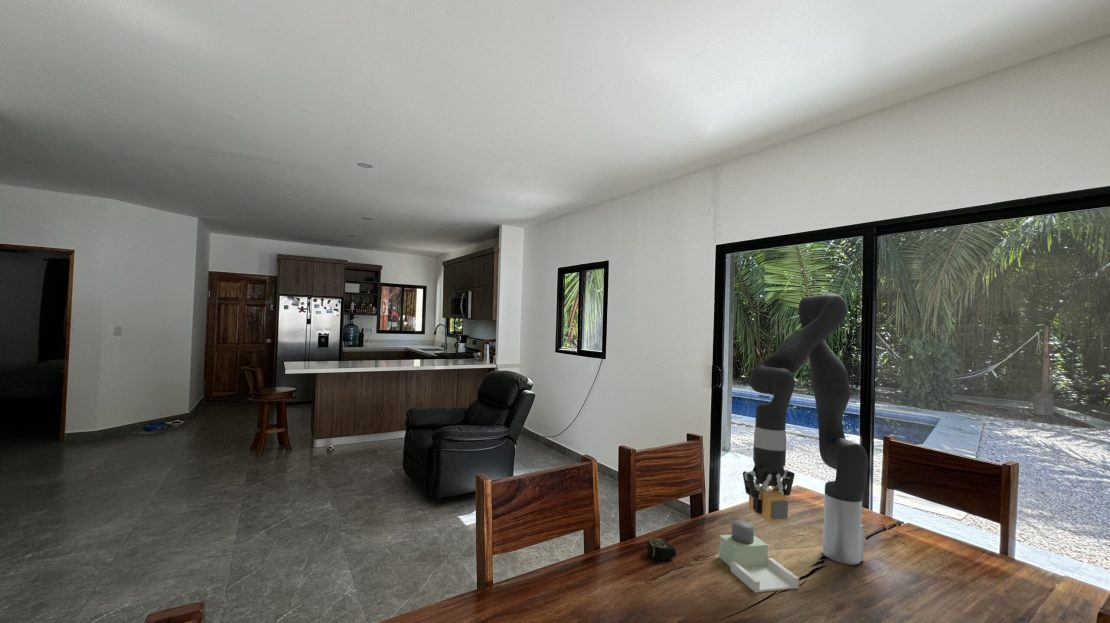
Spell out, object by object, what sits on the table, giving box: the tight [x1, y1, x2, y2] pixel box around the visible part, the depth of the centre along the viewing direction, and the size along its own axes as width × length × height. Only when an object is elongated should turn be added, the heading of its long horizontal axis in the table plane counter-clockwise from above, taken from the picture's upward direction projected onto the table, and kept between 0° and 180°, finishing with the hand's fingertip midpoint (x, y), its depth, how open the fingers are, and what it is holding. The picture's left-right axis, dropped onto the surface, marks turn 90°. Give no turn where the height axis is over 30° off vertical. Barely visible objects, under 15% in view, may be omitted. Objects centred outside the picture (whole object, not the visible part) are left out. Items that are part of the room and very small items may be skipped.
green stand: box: [718, 519, 800, 594], centre depth 123 cm, size 12×17×10 cm
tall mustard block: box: [748, 486, 789, 523], centre depth 119 cm, size 5×9×6 cm, turn 14°
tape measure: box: [646, 537, 677, 561], centre depth 129 cm, size 7×7×4 cm
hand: (767, 512), depth 119 cm, fingers closed on tall mustard block, 5 cm apart
